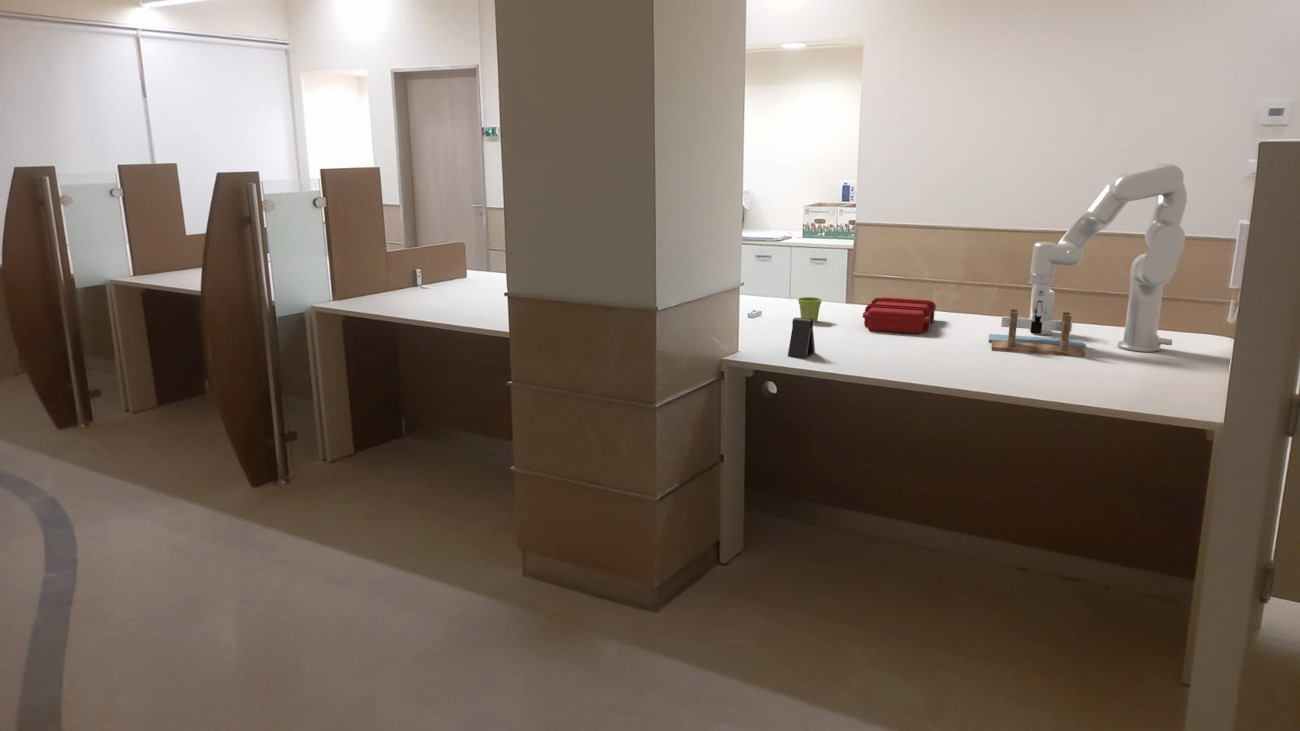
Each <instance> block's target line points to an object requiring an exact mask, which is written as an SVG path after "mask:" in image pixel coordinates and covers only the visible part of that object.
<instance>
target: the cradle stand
mask: <svg viewBox="0 0 1300 731" xmlns="http://www.w3.org/2000/svg"><path fill="white" fill-rule="evenodd" d="M1018 314H1019V312H1018V309H1017V308H1010V325H1009V327H1008V334H1007V335H1008V342H1005V341H992V343H991V351H995V352H996V351H997V352H1009V353H1020V352H1021V353H1022V354H1023V353H1025V354H1034V353H1036V354H1037V355H1048V354H1052V355H1051V356H1062V355H1064V357H1077V358H1079V357H1080V358H1085V356H1086V353H1085V349H1083V347H1077V346H1068V343H1069V339H1070V333H1071V332H1070V325H1071V321H1072V315H1071V311H1070V312H1069V311H1063V312H1062V319H1061V320H1062V328H1061V331H1060V337H1059V339H1060V345H1049V344H1034V343H1020V342H1015V337H1016V336H1017V328H1016V327H1017V317H1019V316H1018Z"/></svg>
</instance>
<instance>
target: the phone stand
mask: <svg viewBox="0 0 1300 731" xmlns="http://www.w3.org/2000/svg"><path fill="white" fill-rule="evenodd" d="M791 324H792V327H791V334H790V341H789V347H788V351H787V352H788V353H787V357H791V358H798V359H807V358H809V357H811V356H812V355H814V354H816V348H815V347H816V346H815V337H814V322H813V320H812V319H804V318H801V317H793V319H792V322H791Z"/></svg>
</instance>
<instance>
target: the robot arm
mask: <svg viewBox="0 0 1300 731" xmlns="http://www.w3.org/2000/svg"><path fill="white" fill-rule="evenodd" d="M1184 180H1185V176H1184V172H1183V170H1182V169H1181V168H1180V167H1179V166H1177V165H1173V164H1167V163H1156V164H1155V165H1152V166H1151V167H1150V168H1149V169H1147V170H1144V171H1140V172H1133V173H1119V174H1116V175H1114V176H1113V177H1112V178H1111V179H1110V181H1108V183H1107V184H1106V185H1105V187H1103V189H1102V190H1101V192H1100V193H1099V194H1098V196H1097V197H1096V198H1095V199H1094V201H1093V202H1092V203H1091V205H1090V206H1089V207H1088V208H1087V209H1086V211H1085V212H1084V213H1083V214H1082V215H1080V217H1079V218H1078V219H1077V220H1076V221H1075V222H1074V223H1073V224H1072V225H1071V226H1070V227H1069V229H1068V230H1067V231H1066V233H1065V234H1064V235H1063V236H1062V237H1061V239H1060V240H1059V241H1058V243H1055V242H1050V241H1038V242H1035V243H1034V245H1033V247H1032V255H1031V256H1032V257H1031V263H1030V264H1031V266H1030V273H1029V284H1032V288H1031V295H1032V299H1031V298H1030V309H1031V310H1032V312H1033V317H1032V318H1033V322H1032V326H1031V329H1030V330H1031V332H1030V333H1031V334H1032V335H1035V334H1041V329H1042V315H1043V312H1044V313H1045V314H1047V313H1048V302H1049V293H1050V288H1051V287H1050V286H1052V285H1054V283H1055V274H1056V266H1057V265H1059V266H1060V265H1061V266H1064V267H1075V266H1077V265H1079V264H1080V263H1081V262H1082V261H1083V259H1084V255H1085V254H1084V250H1083V248H1084V247H1085V246H1086V244H1087V243H1088V242H1089V241H1090V239H1092V238H1093V237H1094V236H1095V235H1097V233H1099V232H1101V231H1103V230H1105V229H1106V228H1108V227H1109V226H1110V225H1111V224H1112V223H1113V221H1114V220H1115V219H1116V218H1117V217H1118V215H1119V214H1120V212H1121V211H1122V210H1123V209H1124V207H1126V205H1127V204H1128V203H1129V202H1134V201H1140V200H1145V199H1148V198H1152V197H1155V204H1154V207H1153V208H1154V209H1153V212H1152V215H1151V218H1150V220H1149V222H1148V226H1147V228H1146V231H1145V233H1144V234H1145V235H1144V240H1145V243H1146V245H1147V246H1148V249H1147V252H1145V253H1142V254H1140V255H1138V256H1137V257H1136V258H1134V260H1133V262H1132V264H1131V266H1130V278H1129V279H1130V280H1129V281H1130V283H1129V284H1130V285H1129V296H1128V302H1127V310H1126V318H1125V324H1124V332H1123V334H1124V335H1123V340H1120V341H1118V342H1117V347H1118V348H1120V349H1123V350H1127V351H1132V352H1141V353H1142V352H1147V353H1153V352H1159V351H1160V350H1161V345H1165V346H1172V345H1173V339H1170V338H1163V337H1159V336H1158V328H1159V321H1160V316H1161V314H1160V313H1161V308H1162V307H1161V306H1162V300H1163V291H1164V285H1166V284H1168V283H1169V282H1170V281H1171V279H1172V278H1173V276H1174V274H1175V272H1176V269H1177V267H1178V263H1179V261H1180V258H1181V254H1182V253H1183V250H1184V247H1185V242H1186V234H1185V231H1184V229H1183V228H1182V227H1181V222H1182V220H1183V218H1184V213H1185V210H1186V205H1187V202H1188V201H1187V198H1188V195H1187V189H1186V186H1185V184H1184V183H1185V182H1184Z"/></svg>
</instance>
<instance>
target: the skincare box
mask: <svg viewBox="0 0 1300 731" xmlns="http://www.w3.org/2000/svg"><path fill="white" fill-rule="evenodd" d="M1055 295H1056V292H1055V291H1054V290H1052V289H1050V293H1049V302H1048V313H1047V314H1045V313H1044V312H1043V315H1042V319H1052V320H1054V310H1055V309H1054V307H1055ZM1030 297H1031V298H1030V300H1031V299H1032V294H1031V296H1030ZM1029 310H1030V311H1029V318H1032V317H1033V312H1032V310H1031V308H1030V309H1029ZM1028 331H1029V333H1031V330H1030V329H1028ZM1052 332H1053V331H1051V330H1041V334H1034V335H1036V336H1037V335H1039V336H1052V334H1053V333H1052Z"/></svg>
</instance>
